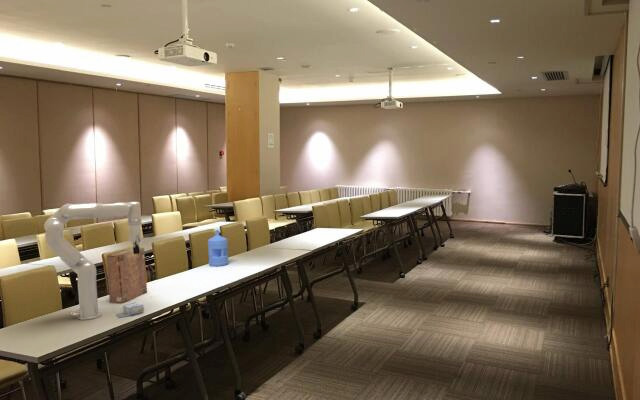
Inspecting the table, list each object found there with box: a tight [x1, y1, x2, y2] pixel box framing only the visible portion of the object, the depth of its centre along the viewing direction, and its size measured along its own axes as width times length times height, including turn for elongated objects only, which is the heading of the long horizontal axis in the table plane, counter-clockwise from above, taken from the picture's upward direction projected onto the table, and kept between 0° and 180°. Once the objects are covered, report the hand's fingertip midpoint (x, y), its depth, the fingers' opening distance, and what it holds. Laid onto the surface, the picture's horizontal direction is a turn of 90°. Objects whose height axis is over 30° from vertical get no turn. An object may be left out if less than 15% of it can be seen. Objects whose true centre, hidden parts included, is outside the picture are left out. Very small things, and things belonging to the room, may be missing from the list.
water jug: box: [207, 229, 229, 267], centre depth 422 cm, size 16×16×28 cm
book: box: [106, 247, 148, 304], centre depth 329 cm, size 25×9×30 cm, turn 164°
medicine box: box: [122, 302, 145, 316], centre depth 296 cm, size 8×4×9 cm
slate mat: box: [115, 312, 142, 319], centre depth 294 cm, size 12×8×1 cm, turn 121°
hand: (136, 253), depth 306 cm, fingers closed
